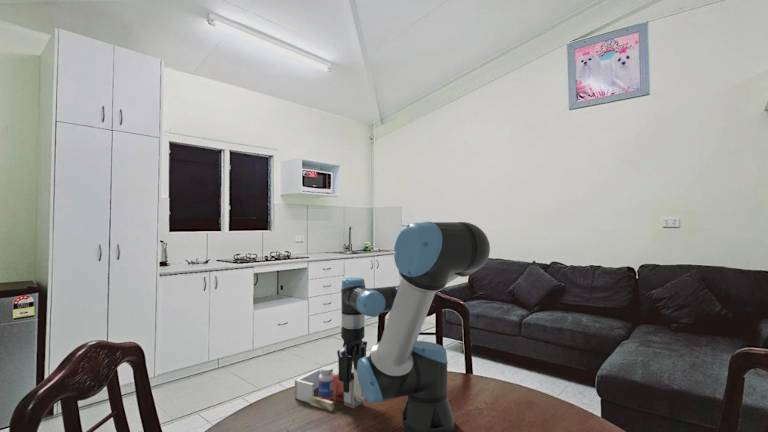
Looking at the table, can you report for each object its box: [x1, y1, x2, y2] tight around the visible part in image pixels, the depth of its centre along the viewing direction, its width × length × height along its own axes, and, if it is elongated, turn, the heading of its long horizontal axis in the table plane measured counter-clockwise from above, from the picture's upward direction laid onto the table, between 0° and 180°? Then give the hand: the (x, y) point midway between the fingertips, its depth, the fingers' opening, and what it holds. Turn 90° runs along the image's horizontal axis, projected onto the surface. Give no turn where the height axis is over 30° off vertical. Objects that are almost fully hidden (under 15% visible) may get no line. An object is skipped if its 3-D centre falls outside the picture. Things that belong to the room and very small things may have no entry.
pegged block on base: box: [332, 366, 366, 409], centre depth 125 cm, size 10×6×11 cm, turn 59°
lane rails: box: [309, 395, 335, 412], centre depth 129 cm, size 9×14×2 cm, turn 149°
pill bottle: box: [318, 365, 334, 401], centre depth 130 cm, size 6×5×10 cm
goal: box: [294, 368, 336, 404], centre depth 133 cm, size 8×12×6 cm, turn 149°
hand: (352, 398), depth 125 cm, fingers closed on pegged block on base, 4 cm apart
